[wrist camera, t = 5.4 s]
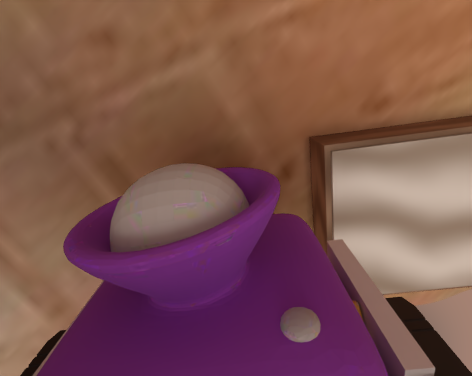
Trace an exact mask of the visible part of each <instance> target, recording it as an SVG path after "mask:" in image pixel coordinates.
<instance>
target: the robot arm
mask: <svg viewBox="0 0 472 376" xmlns="http://www.w3.org/2000/svg"><path fill="white" fill-rule="evenodd" d="M327 257H328V258H329V260H330V262H331V264H332V265H333V267H334V269H335V271H336V272H337V274H338V276H339V278H340V280H341V282H342V283H343V285H344V287H345V289H346V291H347V292H348V294H349V296H350V298H351V300H352V301H357V303H358V304H359V307H360V310H361V314H362V318H363V322H364V324H365V326H366V328H367V330H368V332H369V333H370V335H371V337H372V339H373V341H374V343H375V345H376V348H377V350H378V352H379V354H380V356H381V358H382V360H383V362H384V365H385V367H386V370H387V373H388V375H389V376H472V373H471V372H470V371H469V370H468V369H467V367H466V366H465V365H464V364H463V363H462V362H461V360H460V359H459V358H458V357H457V355H456V354H455V353H454V352H453V351H452V350H451V348H450V347H449V346H448V345H447V344H446V342H445V341H444V340H443V339H442V338H441V337H440V335H439V334H438V333H437V332H436V331H434V329H433V327H432V326H431V325H430V323H429V322H428V321H427V320H425V317H424V316H423V315H422V314H421V313H420V312H419V310H418V309H417V308H416V307H415V306H414V305H413V304H411V303H410V302H408V301H407V300H405V299H404V298H402V297H393V298H384V296H383V295H382V293H381V292H380V291H379V289H378V288H377V286H376V285H375V284H374V282H373V281H372V280H371V278H370V277H369V275H368V274H367V273H366V271H365V270H364V268H363V267H362V266H361V264H360V263H359V262H358V260H357V259H356V257H355V256H354V255H353V253H352V252H351V250H350V249H349V248H348V246H347V245H346V244H345V242H344V241H343V239H339V240H330V241H327ZM103 282H104V280H103ZM103 282H102V283H103ZM102 283H101V284H102ZM101 284H100V286H101ZM100 286H99V287H100ZM99 287H98V288H99ZM98 288H97V290H98ZM97 290H96V291H97ZM96 291H95V292H96ZM95 292H94V294H95ZM94 294H93V295H94ZM93 295H92V296H93ZM92 296H91V298H92ZM91 298H90V299H91ZM90 299H89V300H90ZM88 302H89V301H88ZM88 302H87V303H88ZM87 303H86V304H87ZM85 306H86V305H85ZM85 306H84V307H85ZM84 307H83V308H84ZM82 310H83V309H82ZM82 310H81V311H82ZM81 311H80V313H81ZM80 313H79V314H80ZM79 314H78V315H79ZM78 315H77V317H78ZM77 317H76V318H77ZM76 318H75V319H74V321H75V320H76ZM74 321H73V322H74ZM73 322H72V323H71V325H72V324H73ZM71 325H70V326H69V327H68V329H69V328H70V327H71ZM68 329H67V330H61V331H59V332H58V333H57V334H56V335H55V336H53V337H52V338H51V339H50V340H49V341H47V343H46V344H45V345H44V346H43V348H42V349H41V350H40V351H39V353H38V354H37V357H35V358H34V359H33V360H32V362H31V363H30V364H29V367H28V368H26V369H25V370H24V372H23V373H22V374H21V375H20V376H37V374H38V373H39V371H40V370H41V368H42V367H43V365H44V364H45V362H46V361H47V359H48V358H49V357H50V355H51V354H52V352H53V351H54V349H55V348H56V346H57V345H58V343H59V342H60V341H61V339H62V338H63V336H64V335H65V334H66V332H67V331H68Z"/></svg>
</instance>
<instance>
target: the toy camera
mask: <svg viewBox="0 0 472 376" xmlns="http://www.w3.org/2000/svg"><path fill="white" fill-rule="evenodd" d="M279 195H280V183H279V180H278V179H277V178H276V177H275V176H274V175H272V174H270V173H268V172H266V171H263V170H259V169H254V168H243V167H229V168H217V169H215V168H213V167H209V166H205V165H201V164H189V163H182V164H174V165H169V166H165V167H162V168H159V169H156V170H154V171H153V172H151V173H149V174H147V175H145V176H143V177H141V178H140V179H138V180H137V181H136V182H135V183H134V184H132V185H131V186H130V187H129V188H128V189H127V191H126V192H125V193H124V195H123V196H121V197H119V198H117V199H115V200H113V201H111V202H109V203H107V204H105V205H103V206H102V207H100V208H98V209H97V210H95V211H93V212H92V213H90V214H89V215H87V216H86V217H85V218H83V219H82V220H81V221H80V222H79V223H78V224H77V225H76V226H75V227H74V228H73V229H72V230H71V231H70V232H69V234H68V235H67V237H66V239H65V241H64V246H63V248H64V253H65V255H66V257H67V259H68V260H69V261H70V262H71V263H72V264H74V265H75V266H77V267H78V268H80V269H82V270H84V271H85V272H87V273H89V274H91V275H93V276H95V277H97V278H100V279H102V280H104V282H103V283H102V284H101V286H100V287H99V288H98V290H97V291H96V292H95V294H94V295H93V296H92V298H91V299H90V300H89V302H88V303H87V304H86V306H85V307H84V308H83V310H82V311H81V313H80V314H79V315H78V317H77V318H76V320H75V321H74V322H73V324H72V325H71V327H70V328H69V329H68V331H67V332H66V334H65V335H64V336H63V338H62V339H61V341H60V342H59V343H58V345H57V346H56V348H55V349H54V351H53V352H52V354H51V355H50V357H49V358H48V359H47V361H46V362H45V364H44V365H43V367H42V368H41V370H40V371H39V373H38V374H37V376H389V375H388V373H387V370H386V367H385V365H384V362H383V360H382V358H381V356H380V354H379V352H378V350H377V348H376V345H375V343H374V341H373V339H372V337H371V335H370V333H369V332H368V330H367V328H366V326H365V324H364V322H363V318H362V314H361V310H360V307H359V304H358V303H357V301H352V300H351V298H350V296H349V294H348V292H347V291H346V289H345V287H344V285H343V283H342V282H341V280H340V278H339V276H338V274H337V272H336V271H335V269H334V267H333V265H332V264H331V262H330V260H329V258H328V257H327V255H326V253H325V251H324V250H323V248H322V246H321V244H320V243H319V241H318V239H317V237H316V236H315V234H314V233H313V231H312V230H311V229H310V227H309V226H308V224H307V223H306V222H305V221H304V220H303V219H301V218H300V217H298V216H296V215H293V214H273V212H274V209H275V207H276V204H277V201H278V199H279Z"/></svg>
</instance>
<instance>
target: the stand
mask: <svg viewBox="0 0 472 376" xmlns="http://www.w3.org/2000/svg"><path fill="white" fill-rule="evenodd" d="M310 158H311V179H312V201H313V222H314V234H315V236H316V237H317V239H318V241H319V243H320V244H321V246H322V248H323V250H324V251H325V253H326V255H327V241H330V240H339V239H343V241H344V242H345V244H346V245H347V246H348V248H349V249H350V250H351V252H352V253H353V255H354V256H355V257H356V259H357V260H358V262H359V263H360V264H361V266H362V267H363V268H364V270H365V271H366V273H367V274H368V275H369V277H370V278H371V280H372V281H373V282H374V284H375V285H376V286H377V288H378V289H379V291H380V292H381V293H382V295H389V294H399V293H410V292H420V291H431V290H441V289H452V288H462V287H472V116H466V117H458V118H451V119H443V120H436V121H428V122H421V123H413V124H405V125H398V126H390V127H383V128H375V129H368V130H360V131H353V132H345V133H338V134H330V135H323V136H315V137H310Z"/></svg>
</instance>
